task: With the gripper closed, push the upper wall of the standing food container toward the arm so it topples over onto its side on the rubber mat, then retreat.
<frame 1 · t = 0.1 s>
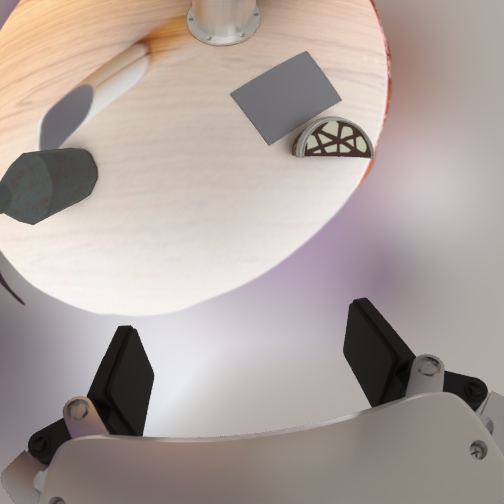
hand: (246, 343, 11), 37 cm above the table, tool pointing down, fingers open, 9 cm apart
bottle: (76, 174, 41), on the table
food container: (317, 137, 43), on the table
mat: (288, 95, 40), on the table
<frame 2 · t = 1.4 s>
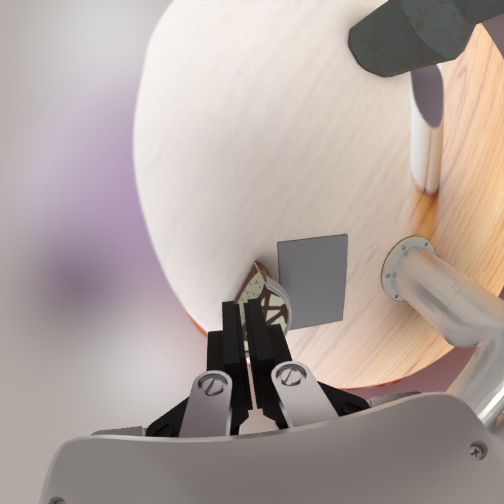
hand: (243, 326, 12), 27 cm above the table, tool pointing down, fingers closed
bottle: (374, 49, 30), on the table
food container: (258, 292, 43), on the table
mat: (313, 285, 43), on the table
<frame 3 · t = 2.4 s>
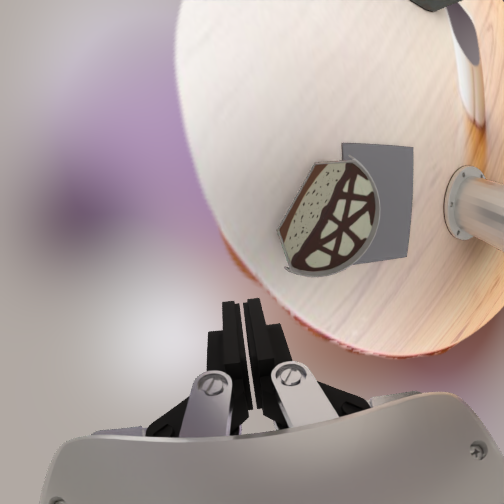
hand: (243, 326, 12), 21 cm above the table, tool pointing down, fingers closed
food container: (316, 208, 32), on the table
mat: (379, 204, 33), on the table
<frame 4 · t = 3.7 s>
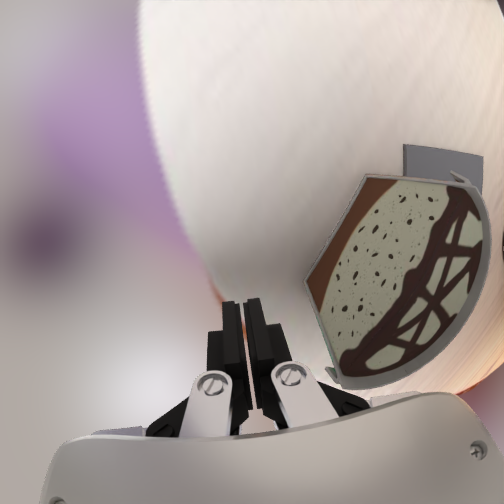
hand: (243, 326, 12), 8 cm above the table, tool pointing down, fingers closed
food container: (363, 245, 20), on the table
mat: (442, 236, 20), on the table
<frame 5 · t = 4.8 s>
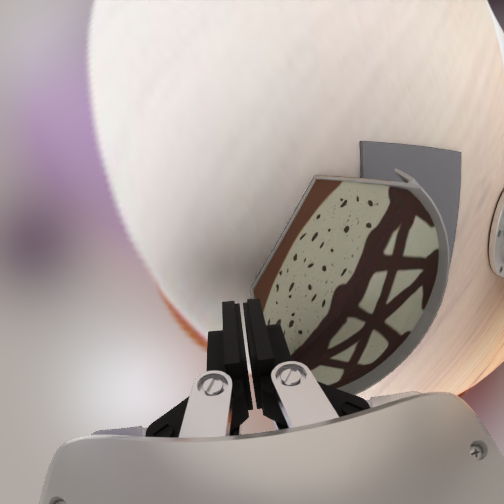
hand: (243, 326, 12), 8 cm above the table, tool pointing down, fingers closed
food container: (315, 251, 20), on the table, touching gripper
mat: (412, 240, 20), on the table
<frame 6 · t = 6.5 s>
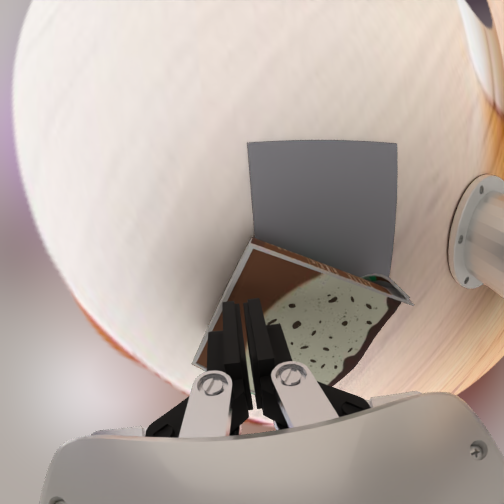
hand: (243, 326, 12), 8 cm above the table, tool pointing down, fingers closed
food container: (223, 287, 18), point 2 cm above the table, touching mat
mat: (330, 250, 20), on the table
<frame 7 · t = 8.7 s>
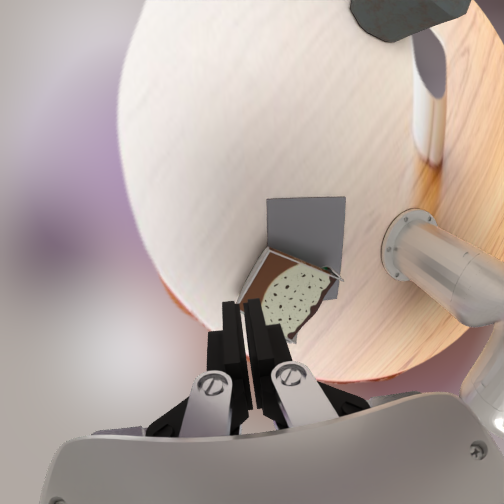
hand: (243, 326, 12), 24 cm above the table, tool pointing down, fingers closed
bottle: (376, 17, 26), on the table
food container: (251, 270, 36), point 2 cm above the table, touching mat
mat: (306, 253, 38), on the table
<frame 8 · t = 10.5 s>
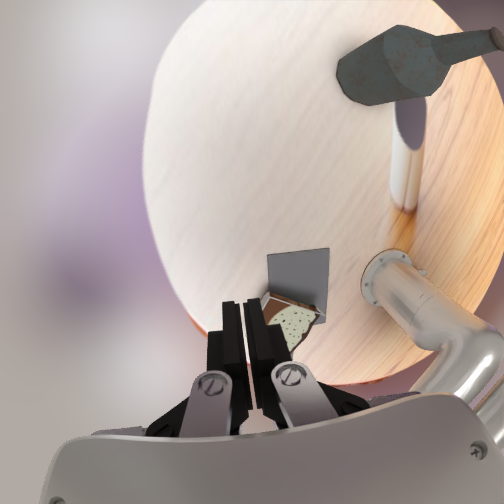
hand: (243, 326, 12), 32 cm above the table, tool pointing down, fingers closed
bottle: (361, 79, 36), on the table
food container: (257, 307, 47), point 2 cm above the table, touching mat
mat: (299, 291, 49), on the table
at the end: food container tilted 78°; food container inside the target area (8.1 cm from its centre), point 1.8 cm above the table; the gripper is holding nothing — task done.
